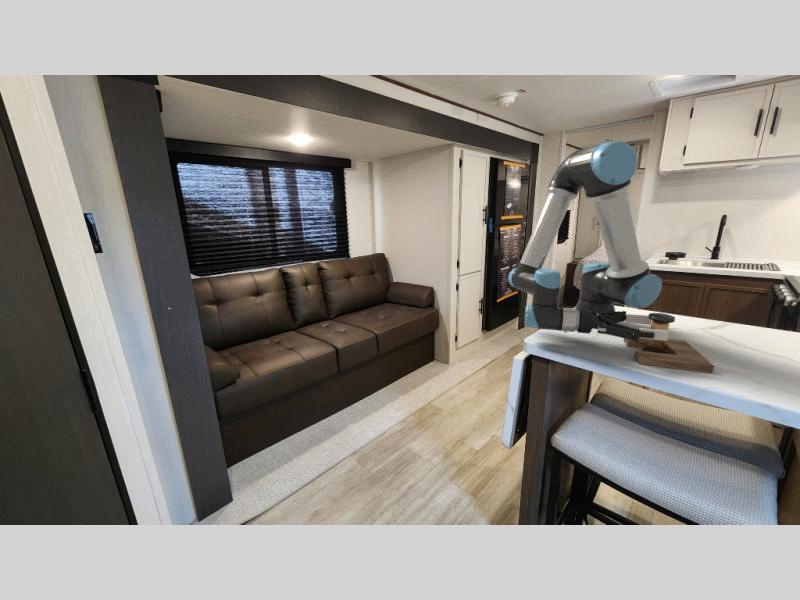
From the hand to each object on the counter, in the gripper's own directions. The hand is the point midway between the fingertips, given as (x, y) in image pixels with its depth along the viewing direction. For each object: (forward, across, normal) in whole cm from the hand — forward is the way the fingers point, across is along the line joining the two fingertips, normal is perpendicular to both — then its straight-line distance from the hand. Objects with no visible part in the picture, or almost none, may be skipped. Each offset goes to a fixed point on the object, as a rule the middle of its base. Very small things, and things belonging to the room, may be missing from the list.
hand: (659, 327), depth 93 cm
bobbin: (0, 0, -8) cm, 9 cm away
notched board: (+2, 0, -8) cm, 9 cm away
